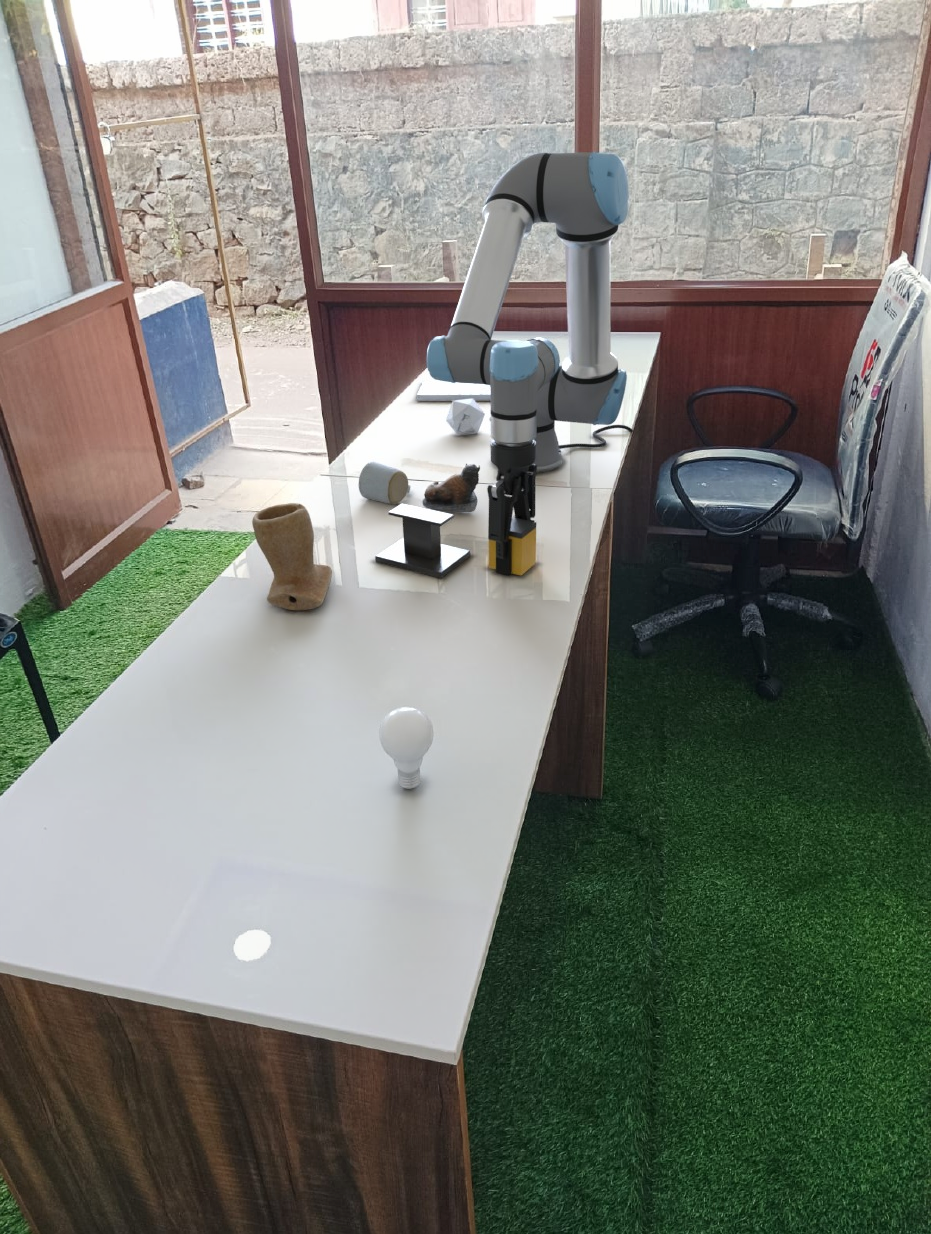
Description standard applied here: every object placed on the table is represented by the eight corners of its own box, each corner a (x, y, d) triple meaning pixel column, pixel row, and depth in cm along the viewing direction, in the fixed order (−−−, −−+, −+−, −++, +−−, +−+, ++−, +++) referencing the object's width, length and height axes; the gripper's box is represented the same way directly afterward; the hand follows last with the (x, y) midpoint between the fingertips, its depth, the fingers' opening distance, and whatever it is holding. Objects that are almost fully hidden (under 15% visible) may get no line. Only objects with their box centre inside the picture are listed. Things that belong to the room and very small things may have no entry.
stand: (406, 541, 173) (403, 496, 168) (470, 556, 166) (469, 510, 162) (375, 561, 165) (371, 515, 161) (441, 578, 159) (439, 531, 154)
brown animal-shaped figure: (418, 513, 184) (416, 466, 179) (430, 500, 189) (428, 454, 184) (475, 520, 180) (474, 471, 175) (485, 506, 186) (485, 459, 181)
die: (439, 436, 228) (446, 411, 219) (451, 409, 232) (458, 384, 223) (471, 448, 228) (479, 424, 219) (482, 422, 232) (491, 397, 223)
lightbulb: (383, 770, 114) (377, 697, 108) (434, 767, 114) (430, 694, 109) (383, 805, 108) (377, 730, 103) (437, 801, 109) (433, 726, 103)
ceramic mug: (391, 510, 185) (389, 474, 182) (358, 503, 189) (356, 467, 185) (420, 493, 193) (418, 458, 190) (388, 487, 197) (386, 452, 193)
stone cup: (271, 573, 162) (259, 493, 155) (337, 572, 162) (329, 493, 154) (250, 615, 149) (237, 531, 142) (323, 615, 149) (313, 530, 141)
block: (503, 556, 166) (503, 515, 162) (535, 563, 163) (536, 522, 159) (488, 567, 161) (488, 526, 158) (521, 575, 159) (521, 533, 155)
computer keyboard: (571, 382, 264) (571, 377, 264) (572, 401, 248) (572, 395, 247) (423, 382, 268) (423, 376, 267) (415, 400, 252) (415, 394, 251)
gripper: (519, 421, 159) (517, 542, 171) (464, 452, 146) (467, 582, 157) (558, 427, 156) (554, 550, 167) (506, 459, 142) (505, 592, 153)
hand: (512, 565), depth 162 cm, fingers open, 6 cm apart
